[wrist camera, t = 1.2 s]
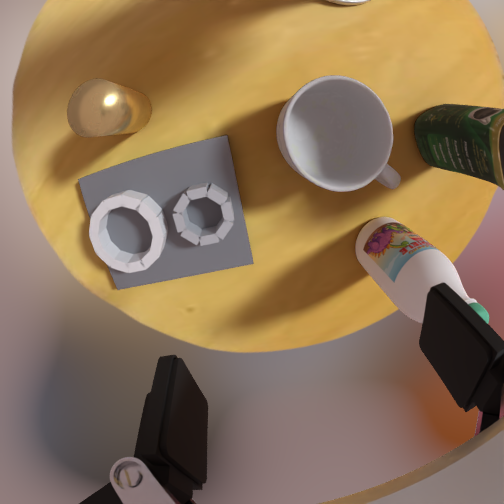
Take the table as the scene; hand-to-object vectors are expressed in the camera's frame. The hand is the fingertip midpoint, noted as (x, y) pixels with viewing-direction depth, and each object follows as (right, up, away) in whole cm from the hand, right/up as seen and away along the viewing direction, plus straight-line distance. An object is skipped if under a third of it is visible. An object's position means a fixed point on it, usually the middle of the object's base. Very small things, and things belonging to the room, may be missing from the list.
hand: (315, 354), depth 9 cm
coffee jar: (+23, +20, +20) cm, 37 cm away
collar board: (-12, +8, +23) cm, 27 cm away
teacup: (+6, +16, +21) cm, 27 cm away
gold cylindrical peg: (-16, +19, +17) cm, 30 cm away
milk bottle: (+15, +5, +26) cm, 31 cm away
